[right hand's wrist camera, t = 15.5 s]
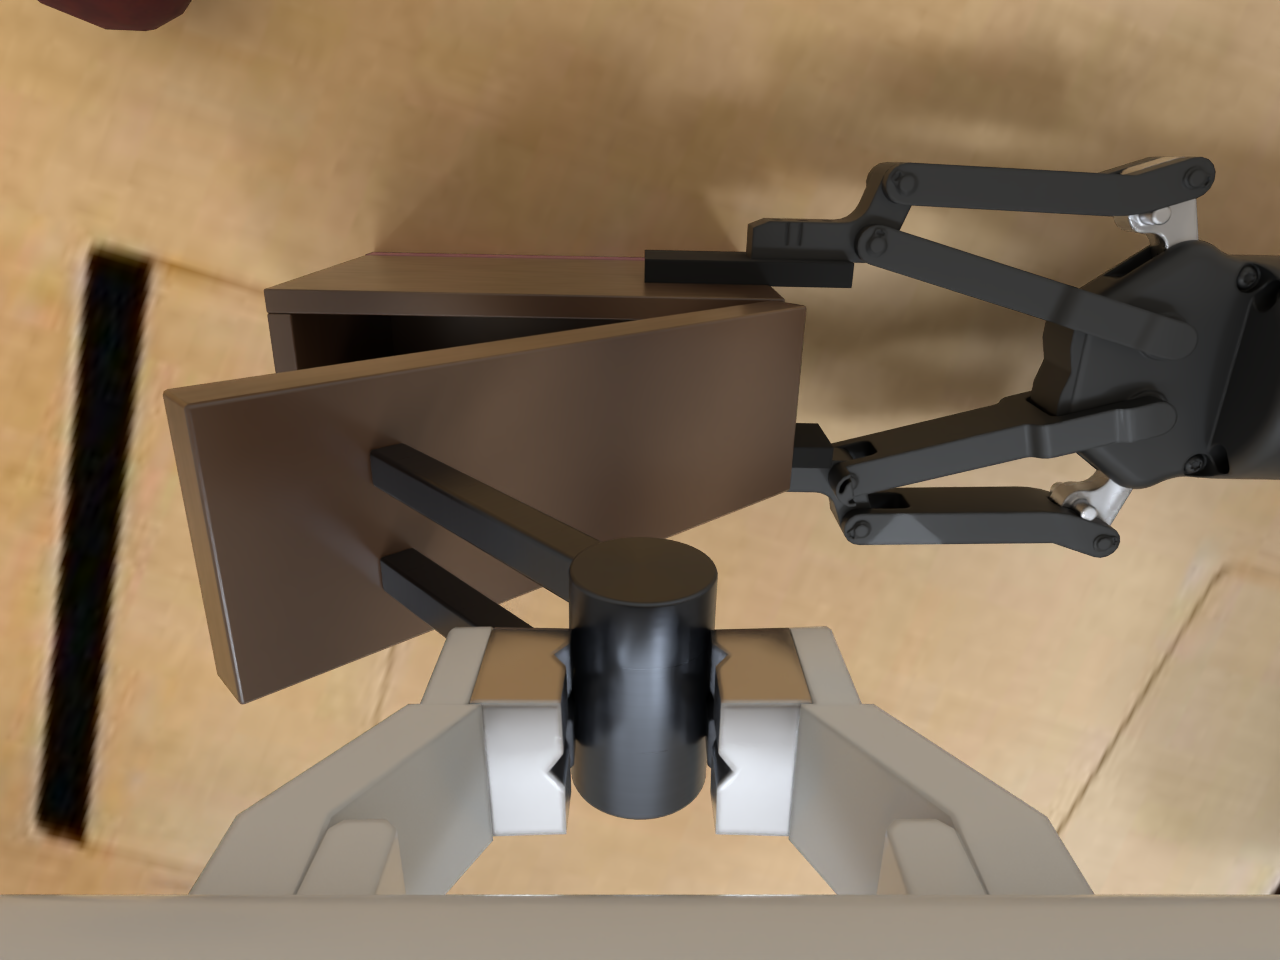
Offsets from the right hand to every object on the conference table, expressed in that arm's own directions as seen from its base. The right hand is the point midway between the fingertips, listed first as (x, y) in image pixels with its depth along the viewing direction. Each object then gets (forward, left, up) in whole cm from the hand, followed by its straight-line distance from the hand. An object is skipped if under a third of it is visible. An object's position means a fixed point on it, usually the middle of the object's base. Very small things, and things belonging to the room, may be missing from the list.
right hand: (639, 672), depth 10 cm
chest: (-3, 0, -25) cm, 25 cm away
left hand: (0, 0, -19) cm, 19 cm away
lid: (-2, 0, -9) cm, 9 cm away
